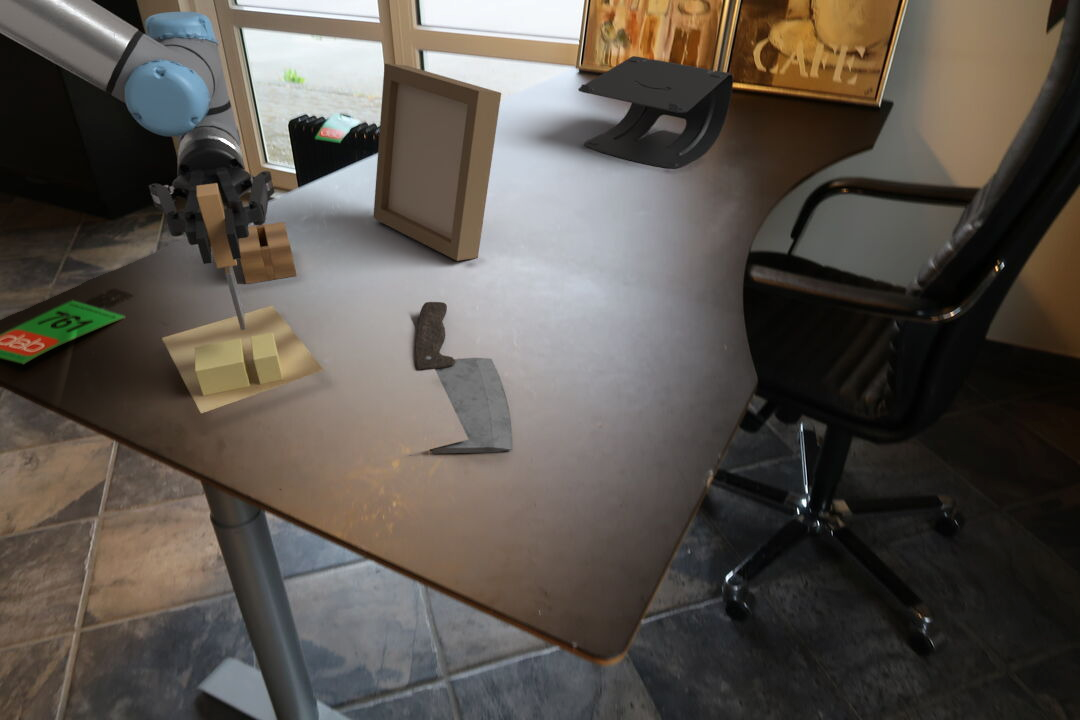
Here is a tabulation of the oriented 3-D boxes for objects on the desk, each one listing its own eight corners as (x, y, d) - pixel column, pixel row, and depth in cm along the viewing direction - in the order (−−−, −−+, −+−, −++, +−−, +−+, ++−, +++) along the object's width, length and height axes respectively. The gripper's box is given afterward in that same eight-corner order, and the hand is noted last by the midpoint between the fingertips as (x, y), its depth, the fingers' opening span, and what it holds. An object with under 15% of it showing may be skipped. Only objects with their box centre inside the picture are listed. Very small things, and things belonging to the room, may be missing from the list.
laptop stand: (727, 144, 157) (740, 71, 148) (675, 173, 142) (686, 94, 133) (630, 121, 169) (636, 53, 161) (572, 146, 154) (576, 72, 145)
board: (164, 347, 89) (161, 337, 88) (274, 314, 96) (272, 305, 95) (204, 423, 77) (200, 413, 76) (326, 379, 84) (324, 369, 83)
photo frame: (457, 266, 108) (447, 98, 93) (373, 223, 120) (353, 69, 105) (525, 237, 117) (525, 79, 102) (441, 199, 129) (431, 54, 114)
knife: (231, 305, 81) (195, 180, 72) (249, 302, 82) (216, 177, 73) (233, 331, 77) (196, 201, 68) (253, 328, 77) (218, 199, 68)
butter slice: (256, 360, 84) (250, 336, 82) (278, 356, 85) (272, 332, 83) (260, 384, 80) (253, 359, 78) (282, 379, 81) (276, 355, 79)
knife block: (242, 258, 109) (235, 228, 106) (290, 250, 111) (284, 221, 108) (246, 284, 102) (238, 253, 99) (296, 275, 104) (290, 245, 102)
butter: (202, 371, 82) (194, 346, 80) (247, 362, 84) (240, 338, 82) (203, 396, 79) (194, 371, 77) (250, 386, 80) (243, 361, 78)
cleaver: (406, 315, 96) (405, 302, 94) (477, 307, 98) (477, 294, 96) (429, 465, 73) (427, 450, 71) (521, 451, 74) (521, 436, 73)
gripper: (281, 189, 91) (305, 270, 73) (153, 205, 86) (145, 296, 68) (269, 131, 86) (291, 202, 69) (134, 144, 82) (120, 224, 64)
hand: (219, 248), depth 69 cm, fingers closed on knife, 2 cm apart
